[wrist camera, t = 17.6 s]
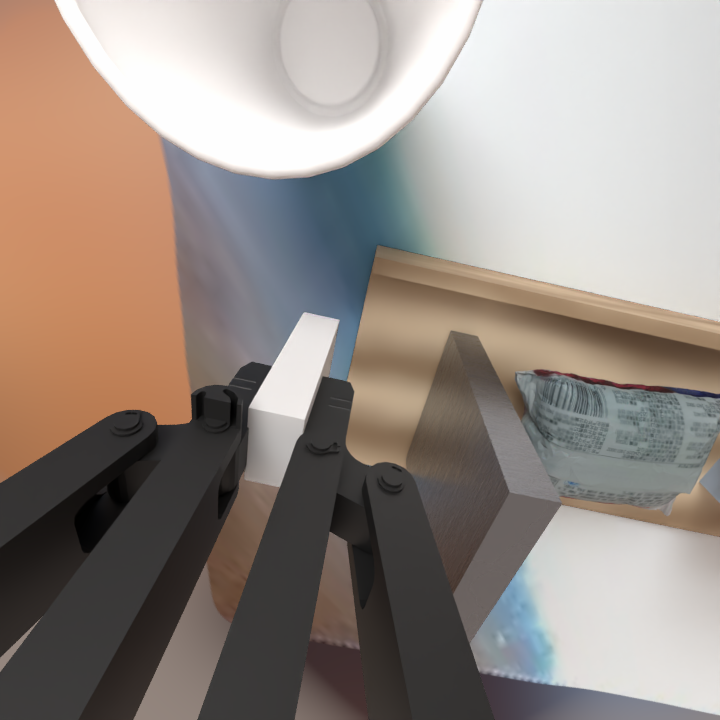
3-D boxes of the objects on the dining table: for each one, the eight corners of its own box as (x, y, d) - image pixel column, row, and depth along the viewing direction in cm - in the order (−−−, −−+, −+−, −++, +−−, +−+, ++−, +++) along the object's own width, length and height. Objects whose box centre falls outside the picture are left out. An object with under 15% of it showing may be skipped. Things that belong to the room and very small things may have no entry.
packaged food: (639, 483, 26) (691, 547, 22) (469, 461, 26) (488, 521, 21) (708, 374, 22) (790, 425, 18) (509, 346, 22) (542, 391, 17)
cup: (477, 91, 18) (588, 4, 8) (304, 208, 20) (226, 252, 11) (369, -190, 14) (321, -1010, 4) (176, 2, 17) (-117, -216, 7)
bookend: (450, 330, 22) (509, 492, 11) (477, 336, 22) (562, 502, 11) (405, 459, 26) (416, 659, 16) (428, 463, 26) (454, 666, 16)
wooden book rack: (377, 244, 21) (362, 346, 10) (911, 365, 22) (1476, 585, 11) (332, 447, 28) (292, 647, 17) (739, 531, 29) (966, 772, 18)
